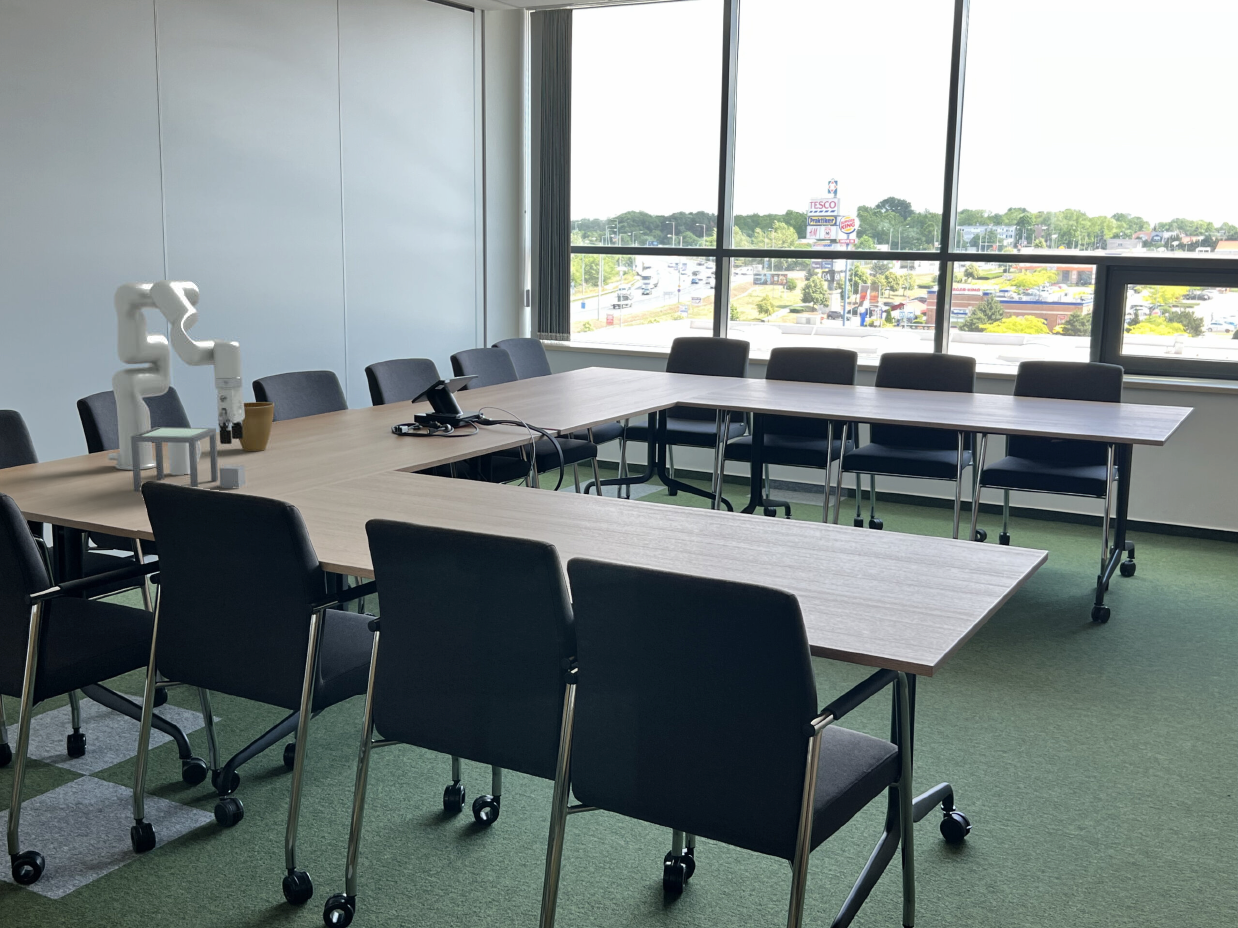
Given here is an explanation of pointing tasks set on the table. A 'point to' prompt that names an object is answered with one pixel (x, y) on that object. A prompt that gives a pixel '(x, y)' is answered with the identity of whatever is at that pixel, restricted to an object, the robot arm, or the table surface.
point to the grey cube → (232, 476)
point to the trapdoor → (175, 432)
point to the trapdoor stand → (159, 439)
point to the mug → (180, 457)
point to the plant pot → (256, 425)
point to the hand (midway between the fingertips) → (231, 441)
